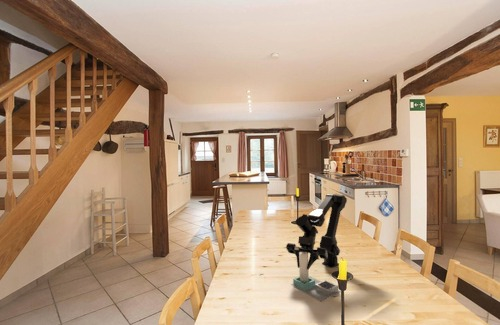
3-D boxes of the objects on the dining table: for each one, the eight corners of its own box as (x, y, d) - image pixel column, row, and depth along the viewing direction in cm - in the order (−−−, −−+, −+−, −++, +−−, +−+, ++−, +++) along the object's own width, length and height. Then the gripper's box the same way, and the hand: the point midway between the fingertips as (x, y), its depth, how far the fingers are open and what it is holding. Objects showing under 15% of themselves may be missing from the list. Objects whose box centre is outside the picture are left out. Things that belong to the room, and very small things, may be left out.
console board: (290, 286, 121) (290, 284, 121) (310, 277, 129) (310, 276, 129) (321, 303, 107) (321, 301, 107) (341, 293, 114) (341, 291, 114)
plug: (297, 281, 121) (297, 253, 121) (304, 278, 123) (303, 251, 123) (304, 284, 118) (303, 255, 117) (310, 281, 120) (309, 253, 119)
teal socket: (293, 284, 121) (293, 278, 121) (304, 279, 125) (303, 274, 125) (304, 290, 116) (304, 284, 116) (315, 285, 120) (315, 280, 119)
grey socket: (315, 290, 116) (315, 284, 116) (325, 285, 120) (325, 279, 120) (327, 296, 110) (327, 290, 110) (338, 291, 114) (338, 285, 114)
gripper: (286, 226, 128) (278, 257, 118) (325, 230, 119) (320, 264, 109) (292, 237, 135) (285, 267, 126) (329, 242, 126) (325, 275, 117)
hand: (302, 268), depth 119 cm, fingers closed on plug, 4 cm apart
